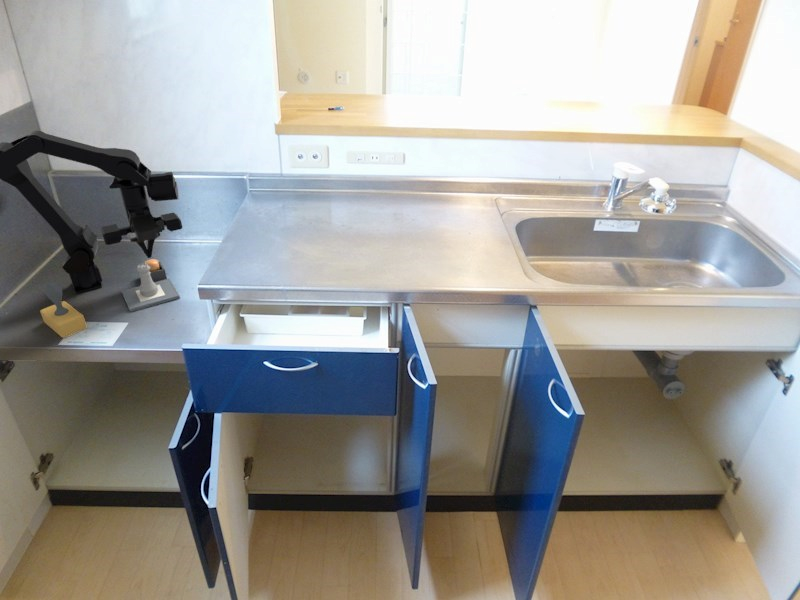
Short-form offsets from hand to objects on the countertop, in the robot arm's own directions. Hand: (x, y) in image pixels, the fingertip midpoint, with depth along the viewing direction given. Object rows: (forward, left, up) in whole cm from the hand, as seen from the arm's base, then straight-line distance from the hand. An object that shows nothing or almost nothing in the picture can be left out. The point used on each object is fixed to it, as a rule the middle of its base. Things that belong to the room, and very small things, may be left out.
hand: (149, 257), depth 149 cm
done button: (0, 0, -4) cm, 4 cm away
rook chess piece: (-3, -9, -6) cm, 11 cm away
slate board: (-3, -9, -6) cm, 11 cm away
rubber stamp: (-23, -12, -7) cm, 27 cm away
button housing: (0, 0, -6) cm, 6 cm away
